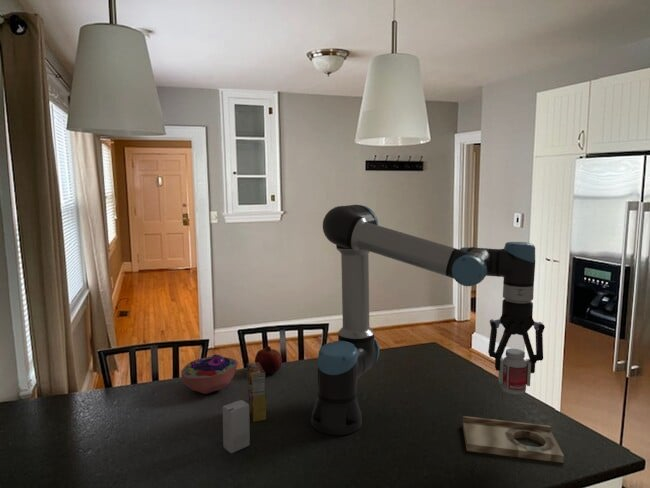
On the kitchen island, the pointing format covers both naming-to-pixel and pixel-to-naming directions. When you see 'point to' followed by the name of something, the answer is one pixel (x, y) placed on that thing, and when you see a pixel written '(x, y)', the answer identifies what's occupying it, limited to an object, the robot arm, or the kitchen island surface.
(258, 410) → the candy box
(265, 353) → the fruit
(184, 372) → the cell model
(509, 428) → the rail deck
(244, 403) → the skincare box
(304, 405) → the kitchen island surface
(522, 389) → the pill bottle
